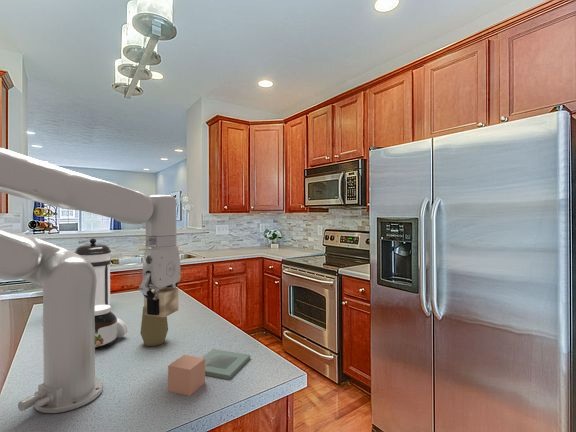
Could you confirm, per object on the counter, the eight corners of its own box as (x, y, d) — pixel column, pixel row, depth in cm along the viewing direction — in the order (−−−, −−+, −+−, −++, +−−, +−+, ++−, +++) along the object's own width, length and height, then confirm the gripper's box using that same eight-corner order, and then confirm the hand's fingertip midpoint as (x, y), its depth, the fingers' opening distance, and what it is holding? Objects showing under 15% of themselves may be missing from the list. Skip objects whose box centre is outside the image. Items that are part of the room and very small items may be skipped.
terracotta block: (190, 396, 73) (190, 369, 73) (168, 391, 75) (168, 365, 75) (205, 382, 78) (205, 358, 78) (184, 378, 80) (184, 354, 80)
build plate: (229, 379, 80) (229, 375, 80) (188, 371, 84) (188, 367, 84) (250, 358, 91) (250, 355, 91) (213, 352, 95) (213, 348, 95)
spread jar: (74, 351, 95) (74, 312, 95) (91, 336, 106) (91, 301, 106) (118, 349, 97) (117, 310, 97) (130, 334, 108) (130, 300, 108)
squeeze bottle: (140, 340, 104) (140, 284, 103) (167, 336, 107) (167, 282, 107) (140, 350, 96) (139, 290, 96) (168, 345, 99) (168, 287, 99)
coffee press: (92, 304, 142) (91, 236, 141) (122, 307, 137) (122, 237, 137) (54, 317, 125) (53, 239, 125) (86, 321, 121) (86, 241, 120)
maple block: (164, 317, 81) (164, 293, 81) (144, 315, 83) (144, 291, 83) (178, 310, 87) (178, 288, 87) (159, 308, 89) (159, 286, 89)
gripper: (151, 246, 75) (151, 323, 76) (192, 239, 92) (192, 302, 92) (124, 245, 77) (125, 320, 78) (169, 238, 94) (169, 300, 94)
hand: (161, 309), depth 85 cm, fingers closed on maple block, 6 cm apart
